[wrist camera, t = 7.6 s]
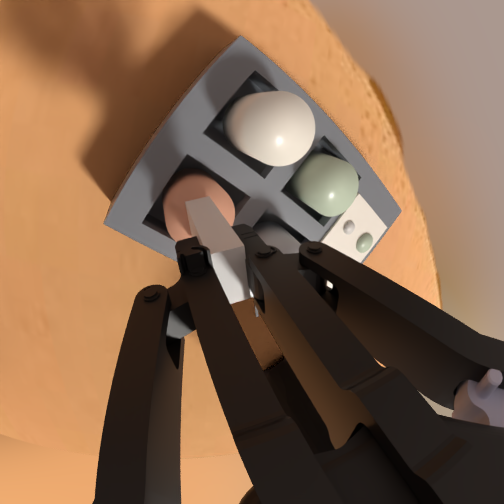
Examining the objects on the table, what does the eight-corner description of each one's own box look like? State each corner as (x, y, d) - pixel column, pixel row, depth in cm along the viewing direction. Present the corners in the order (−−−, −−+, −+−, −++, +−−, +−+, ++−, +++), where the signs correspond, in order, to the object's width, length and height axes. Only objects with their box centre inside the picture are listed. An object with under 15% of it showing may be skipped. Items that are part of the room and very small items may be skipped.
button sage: (272, 179, 22) (299, 195, 19) (304, 138, 22) (336, 147, 18) (306, 206, 25) (334, 226, 21) (334, 169, 24) (367, 183, 20)
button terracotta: (150, 206, 20) (152, 229, 16) (183, 157, 19) (192, 169, 15) (197, 232, 22) (209, 259, 19) (229, 187, 21) (248, 206, 18)
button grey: (227, 255, 22) (245, 287, 19) (261, 211, 22) (286, 236, 18) (266, 276, 25) (288, 307, 21) (297, 237, 24) (325, 263, 20)
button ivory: (209, 129, 17) (226, 135, 14) (249, 81, 16) (277, 75, 13) (257, 165, 20) (284, 180, 16) (293, 120, 19) (328, 125, 15)
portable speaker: (284, 388, 42) (339, 485, 26) (245, 379, 37) (302, 498, 21) (322, 356, 41) (390, 452, 25) (286, 341, 36) (365, 464, 20)
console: (111, 202, 20) (102, 225, 16) (223, 48, 17) (242, 34, 13) (293, 298, 32) (313, 325, 28) (373, 196, 29) (404, 212, 25)
